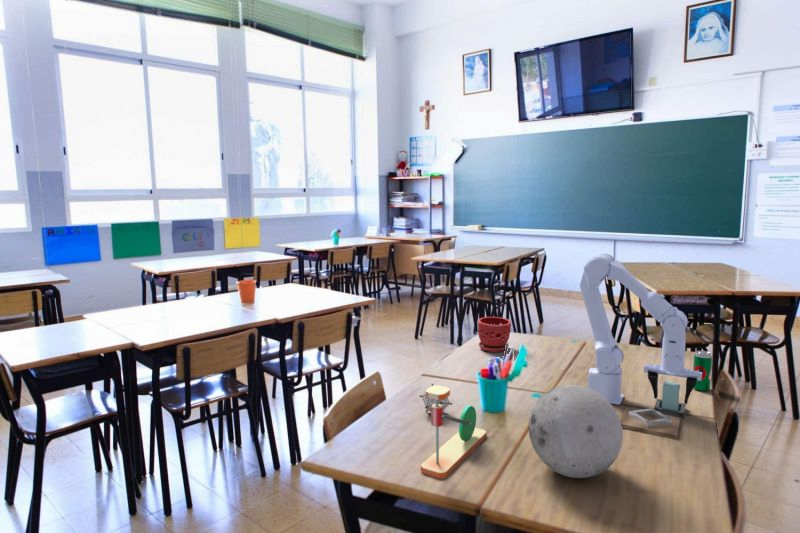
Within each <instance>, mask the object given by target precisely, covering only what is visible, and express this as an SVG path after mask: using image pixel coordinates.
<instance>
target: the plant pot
mask: <svg viewBox="0 0 800 533" xmlns="http://www.w3.org/2000/svg"><path fill="white" fill-rule="evenodd" d="M511 327H512V322H511V320H509V319H507V318H505V317H499V316H485V317H484V316H483V317H481V318H479V319H478V321H477V333H478V338H479V340H480V342H478V346H479V348H480V349H481V350H483V351H486V352H491V353H499V352H503V351H505V350H504V349H505V345H506V343H507V344H508V341H509V338H510V334H511V329H512V328H511Z"/></svg>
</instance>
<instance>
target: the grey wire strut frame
mask: <svg viewBox="0 0 800 533" xmlns="http://www.w3.org/2000/svg"><path fill="white" fill-rule="evenodd" d="M431 386H434V384H433V383H431ZM448 397H449V396H448ZM448 397H447V398H446V399H444V400H438V404H441V405H442V406H443V411H444V410H445V409H446V408H448V406H449V405H450V406H452V405H453V403H452V402H450V400H449V398H448ZM419 398H421V399H422V402H423V403H424V409H426V410H425V413H428V411H429V412H431V406H432V405H433V404H436V400H434V399H429V398H427V397H426V392H425V393H423V394H422V395H421V394H420V395H419Z"/></svg>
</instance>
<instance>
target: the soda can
mask: <svg viewBox="0 0 800 533" xmlns="http://www.w3.org/2000/svg"><path fill="white" fill-rule="evenodd" d="M692 364H693V365H692V366H693V367H692V370H693V371H698V372H702V379H701V381H699V380H697V383H696V385H695V387H694V388H693V390H695V391H697V392H698V391H699V392H708V391H710V390H711V383H712V382H711V381H712V370H713V369H712V368H713V367H712V366H713V355H712V352H709V351H707V350H696V351H695V353H694V354H693V363H692Z"/></svg>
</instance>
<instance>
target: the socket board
mask: <svg viewBox="0 0 800 533" xmlns="http://www.w3.org/2000/svg"><path fill="white" fill-rule="evenodd" d="M619 419H620V422H621V426H622V429H626V430H631V431H637V432H640V433H641V432H642V433H646V434H651V435H656V436H661V437H665V438H669V439H670V438H671V439H676V440H677V439H678V435H679V431H680V425H681V424H680V423H681V418H680V417H674V416H669V415H663V414H662V413H660V412H658V411H656V410H654V408H651V407H650V408H645V409H637V408H636V409H635V408H631V407H625V408H624V410H623V412H622V414H621V417H620V418H619Z"/></svg>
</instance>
